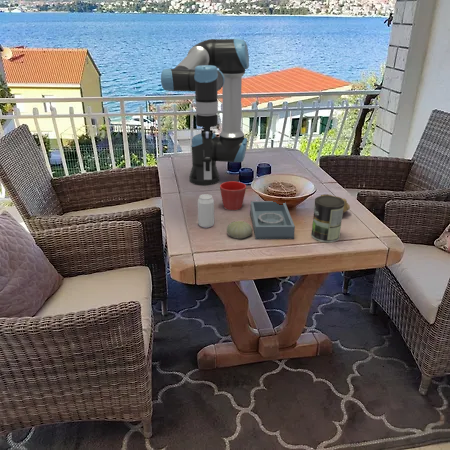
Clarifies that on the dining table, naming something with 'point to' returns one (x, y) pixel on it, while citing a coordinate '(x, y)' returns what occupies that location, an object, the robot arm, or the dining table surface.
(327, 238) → the coffee can
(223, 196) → the flower pot
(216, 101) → the robot arm
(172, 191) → the dining table surface
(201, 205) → the beverage can
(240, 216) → the dining table surface
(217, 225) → the dining table surface
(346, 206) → the oil lamp
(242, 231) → the sea urchin shell
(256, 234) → the walled box
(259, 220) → the inlet ring
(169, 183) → the dining table surface
